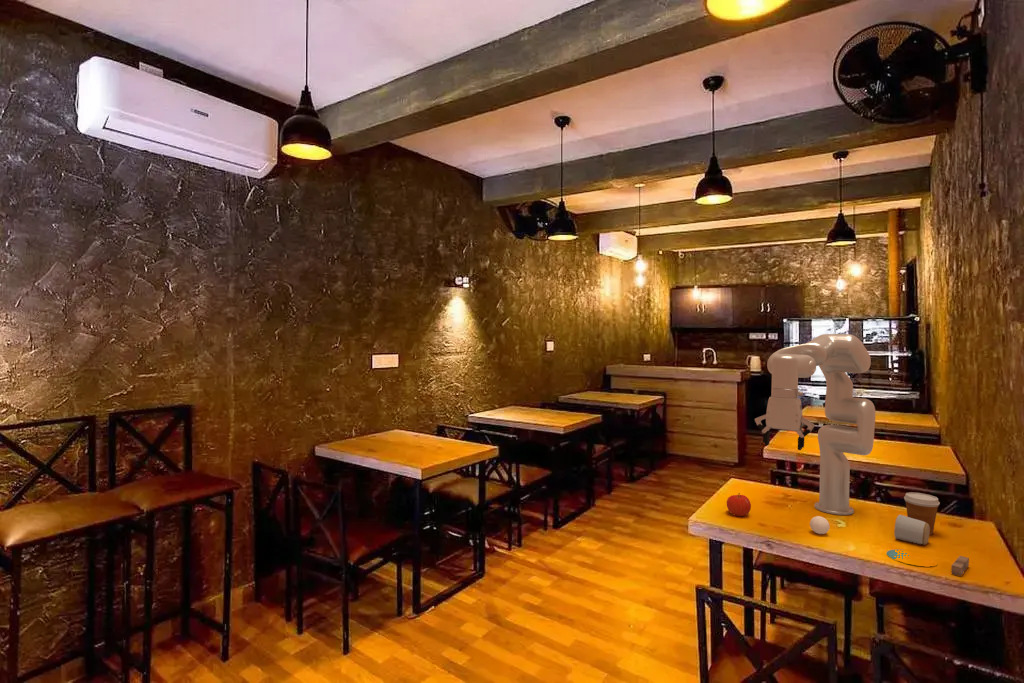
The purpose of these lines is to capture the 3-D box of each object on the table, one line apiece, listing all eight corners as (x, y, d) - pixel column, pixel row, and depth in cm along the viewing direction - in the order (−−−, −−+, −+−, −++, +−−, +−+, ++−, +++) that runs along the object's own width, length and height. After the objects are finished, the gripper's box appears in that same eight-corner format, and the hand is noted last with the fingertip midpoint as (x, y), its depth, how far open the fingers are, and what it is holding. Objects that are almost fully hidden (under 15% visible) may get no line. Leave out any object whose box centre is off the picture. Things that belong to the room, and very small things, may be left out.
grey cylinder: (925, 548, 166) (926, 523, 166) (893, 541, 172) (894, 516, 172) (932, 540, 174) (932, 516, 174) (901, 533, 180) (901, 510, 180)
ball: (813, 529, 182) (814, 512, 182) (832, 534, 178) (832, 517, 178) (806, 533, 178) (807, 516, 178) (825, 538, 174) (825, 520, 174)
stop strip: (959, 564, 155) (959, 555, 155) (968, 566, 154) (968, 558, 154) (951, 574, 149) (951, 565, 149) (960, 576, 147) (960, 567, 147)
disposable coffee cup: (896, 528, 183) (897, 493, 183) (915, 525, 186) (916, 490, 186) (926, 539, 174) (927, 502, 174) (946, 535, 177) (946, 499, 177)
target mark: (893, 546, 167) (893, 546, 167) (942, 559, 158) (942, 559, 158) (881, 557, 160) (881, 556, 160) (931, 571, 151) (931, 570, 151)
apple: (755, 516, 194) (756, 494, 194) (739, 519, 191) (739, 497, 190) (737, 509, 201) (738, 488, 201) (721, 512, 198) (722, 491, 198)
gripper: (817, 395, 171) (815, 449, 171) (758, 391, 182) (757, 441, 182) (812, 397, 165) (811, 453, 165) (752, 392, 176) (751, 445, 176)
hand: (783, 447), depth 173 cm, fingers open, 9 cm apart
